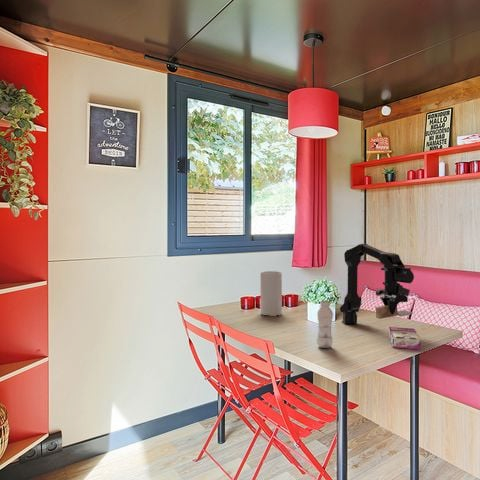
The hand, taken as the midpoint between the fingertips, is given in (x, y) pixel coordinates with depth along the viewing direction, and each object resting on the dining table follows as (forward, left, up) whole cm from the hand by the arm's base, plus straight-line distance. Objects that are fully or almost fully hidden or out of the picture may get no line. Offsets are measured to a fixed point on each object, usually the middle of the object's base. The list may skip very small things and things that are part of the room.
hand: (390, 313), depth 176 cm
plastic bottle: (-36, -10, -11) cm, 39 cm away
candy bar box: (+4, -2, -9) cm, 10 cm away
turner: (+1, 0, -1) cm, 2 cm away
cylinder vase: (-46, +53, -11) cm, 71 cm away
